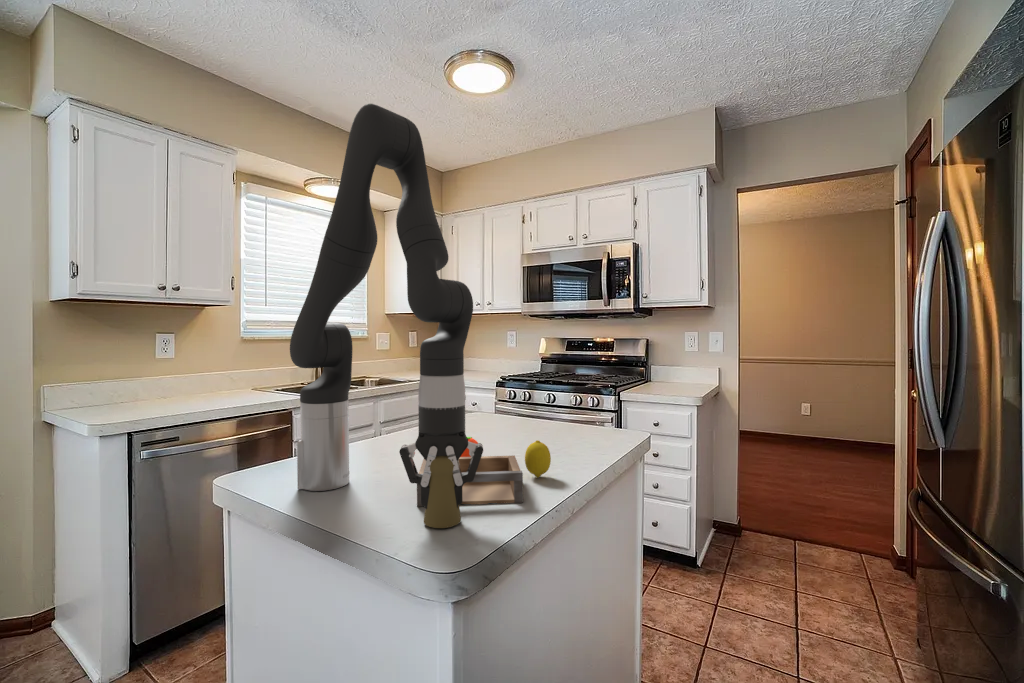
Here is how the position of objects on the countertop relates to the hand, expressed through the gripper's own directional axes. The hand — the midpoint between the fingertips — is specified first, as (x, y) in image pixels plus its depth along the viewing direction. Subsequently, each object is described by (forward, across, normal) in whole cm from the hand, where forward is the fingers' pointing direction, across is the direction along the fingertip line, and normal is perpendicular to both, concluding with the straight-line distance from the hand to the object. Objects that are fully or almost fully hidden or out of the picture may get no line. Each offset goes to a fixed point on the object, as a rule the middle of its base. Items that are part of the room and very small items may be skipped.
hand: (442, 506), depth 79 cm
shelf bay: (+3, +5, +15) cm, 16 cm away
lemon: (+3, +19, +23) cm, 30 cm away
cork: (+3, 0, 0) cm, 3 cm away
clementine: (+3, +4, +33) cm, 33 cm away
